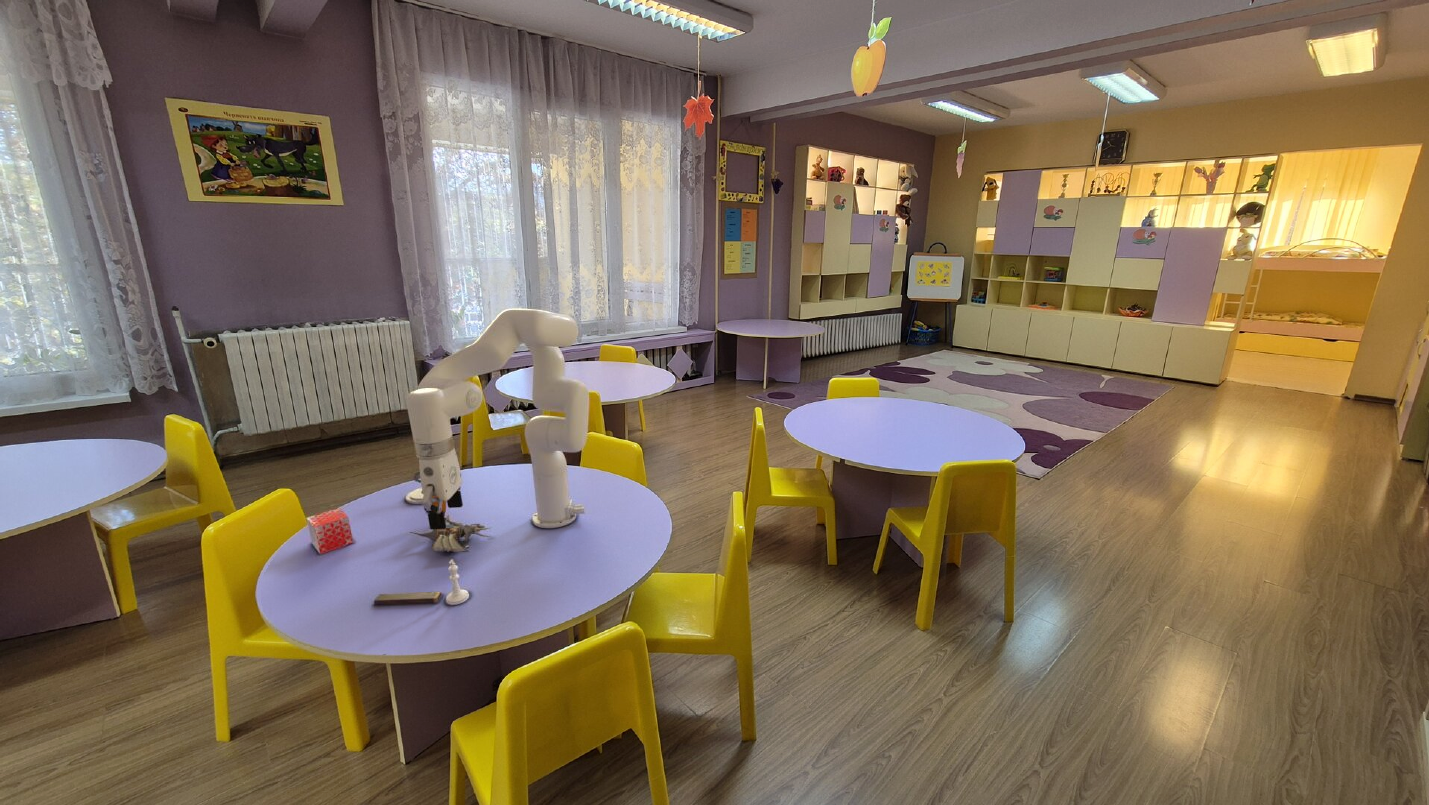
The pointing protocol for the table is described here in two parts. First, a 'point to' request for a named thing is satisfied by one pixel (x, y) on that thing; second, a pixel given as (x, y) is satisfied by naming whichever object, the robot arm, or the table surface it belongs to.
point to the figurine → (452, 536)
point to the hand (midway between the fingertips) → (447, 517)
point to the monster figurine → (415, 493)
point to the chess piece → (455, 587)
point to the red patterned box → (330, 530)
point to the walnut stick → (408, 598)
